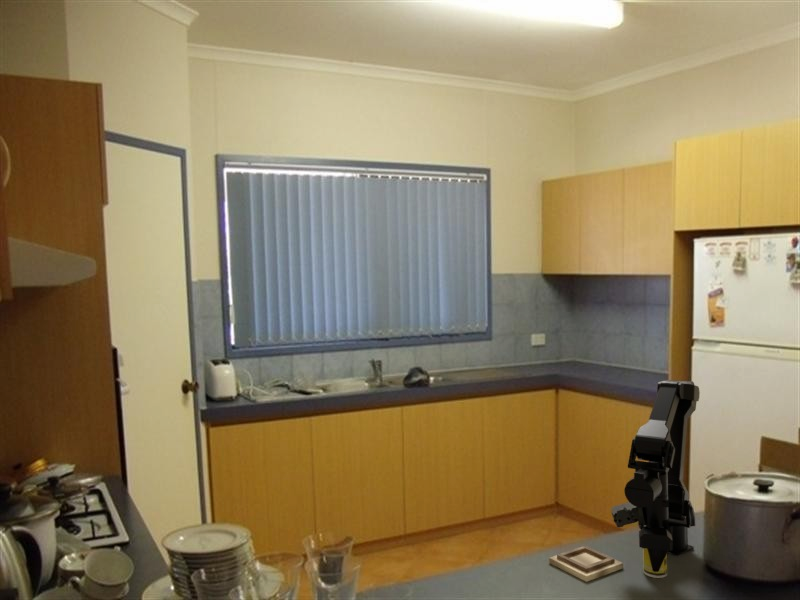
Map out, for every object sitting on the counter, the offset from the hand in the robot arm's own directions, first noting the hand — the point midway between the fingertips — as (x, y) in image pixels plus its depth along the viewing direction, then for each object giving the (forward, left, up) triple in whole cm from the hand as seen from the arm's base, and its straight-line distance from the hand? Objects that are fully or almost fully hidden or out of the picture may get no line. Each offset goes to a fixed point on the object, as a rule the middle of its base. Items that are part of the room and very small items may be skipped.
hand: (655, 566), depth 138 cm
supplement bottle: (0, 0, -2) cm, 2 cm away
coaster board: (+9, -11, -2) cm, 14 cm away
